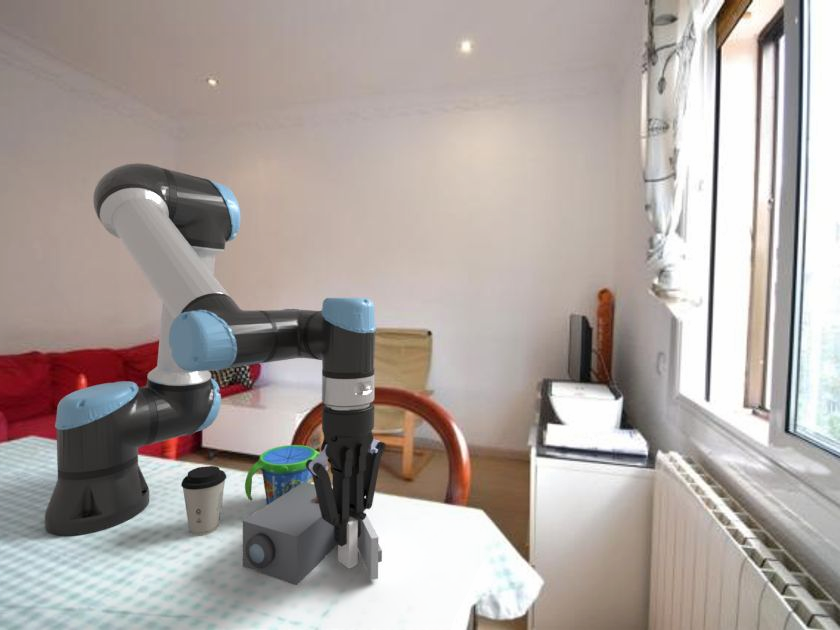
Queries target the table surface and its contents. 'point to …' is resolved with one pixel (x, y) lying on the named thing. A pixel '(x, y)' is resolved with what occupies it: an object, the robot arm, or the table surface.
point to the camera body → (288, 536)
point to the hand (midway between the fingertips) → (347, 561)
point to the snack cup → (282, 470)
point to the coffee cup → (203, 499)
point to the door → (369, 548)
